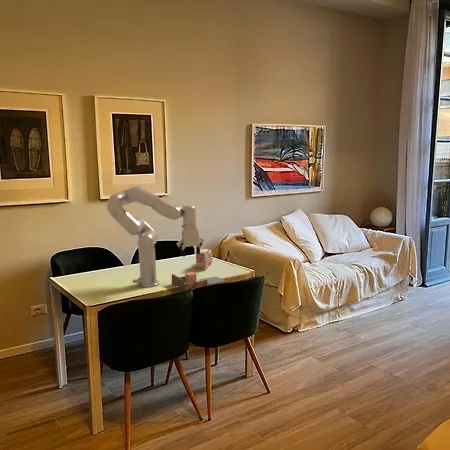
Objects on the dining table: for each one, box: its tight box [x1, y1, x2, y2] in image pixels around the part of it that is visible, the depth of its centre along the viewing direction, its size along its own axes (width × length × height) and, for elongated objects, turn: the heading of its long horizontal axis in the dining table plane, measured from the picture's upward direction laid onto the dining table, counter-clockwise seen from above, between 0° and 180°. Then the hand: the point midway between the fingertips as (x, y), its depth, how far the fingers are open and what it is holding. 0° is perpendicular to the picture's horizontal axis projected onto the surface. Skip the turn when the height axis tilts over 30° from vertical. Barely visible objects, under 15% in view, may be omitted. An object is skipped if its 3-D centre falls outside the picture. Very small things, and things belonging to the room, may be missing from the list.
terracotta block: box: [184, 271, 198, 284], centre depth 275 cm, size 5×5×7 cm
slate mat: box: [199, 276, 227, 286], centre depth 283 cm, size 12×12×1 cm
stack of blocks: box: [195, 248, 213, 272], centre depth 316 cm, size 21×6×12 cm, turn 169°
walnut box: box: [171, 273, 208, 291], centre depth 274 cm, size 16×15×6 cm
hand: (190, 255), depth 272 cm, fingers open, 9 cm apart
